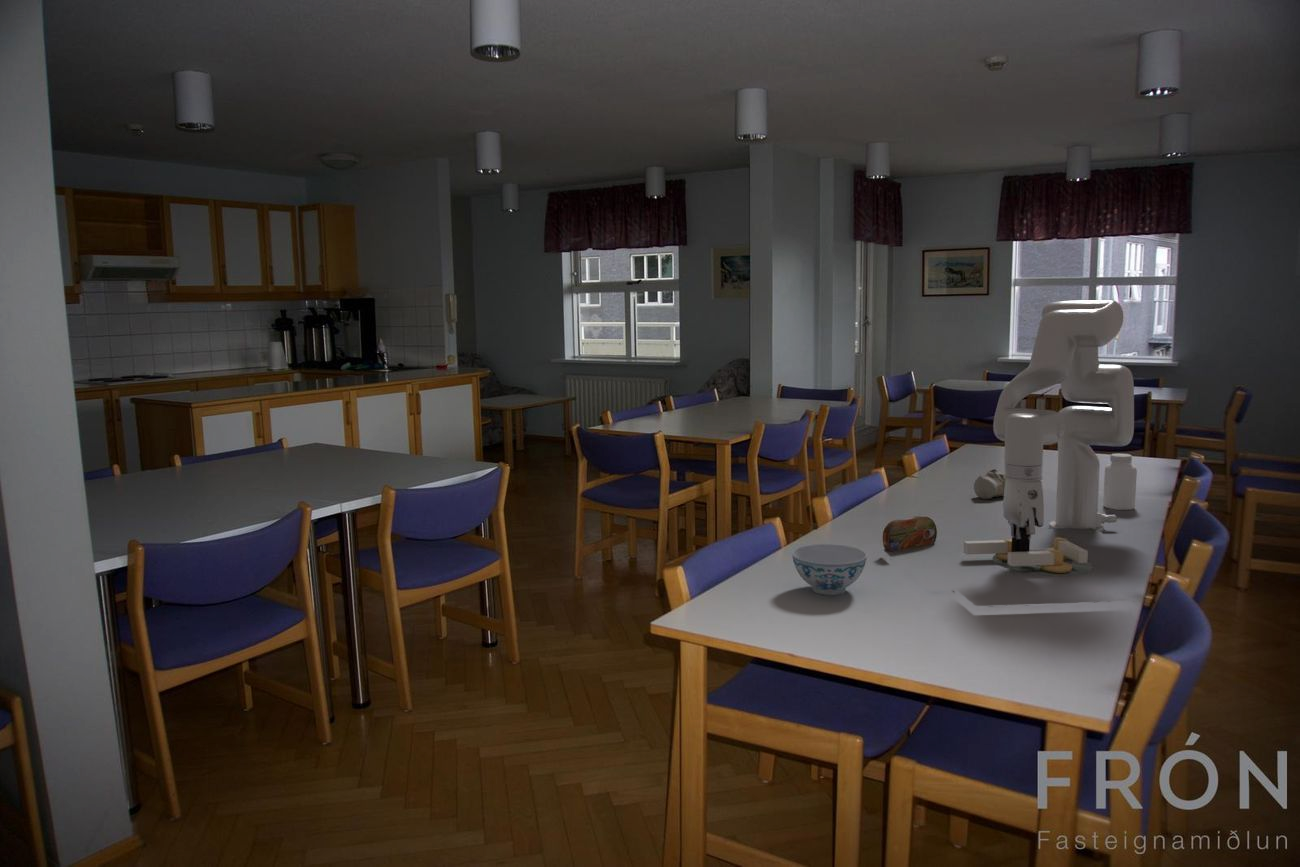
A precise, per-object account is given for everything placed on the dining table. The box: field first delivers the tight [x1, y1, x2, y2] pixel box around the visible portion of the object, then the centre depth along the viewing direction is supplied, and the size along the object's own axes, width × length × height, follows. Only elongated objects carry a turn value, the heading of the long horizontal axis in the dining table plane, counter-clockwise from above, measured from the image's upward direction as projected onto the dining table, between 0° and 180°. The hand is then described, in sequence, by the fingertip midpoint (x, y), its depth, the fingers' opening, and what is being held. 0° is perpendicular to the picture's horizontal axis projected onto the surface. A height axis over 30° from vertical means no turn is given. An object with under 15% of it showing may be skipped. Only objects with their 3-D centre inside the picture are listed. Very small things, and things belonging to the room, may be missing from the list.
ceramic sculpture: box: [973, 469, 1006, 500], centre depth 269 cm, size 11×9×15 cm
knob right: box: [1044, 536, 1089, 563], centre depth 195 cm, size 13×6×4 cm, turn 2°
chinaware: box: [791, 543, 868, 596], centre depth 183 cm, size 15×15×8 cm
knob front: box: [1008, 550, 1072, 573], centre depth 188 cm, size 13×6×4 cm, turn 92°
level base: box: [992, 549, 1093, 576], centre depth 195 cm, size 20×20×3 cm
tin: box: [882, 515, 938, 553], centre depth 210 cm, size 15×3×8 cm, turn 117°
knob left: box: [963, 538, 1012, 561], centre depth 198 cm, size 13×6×4 cm, turn 92°
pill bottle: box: [1102, 452, 1138, 511], centre depth 250 cm, size 8×8×15 cm
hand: (1020, 555), depth 192 cm, fingers closed
